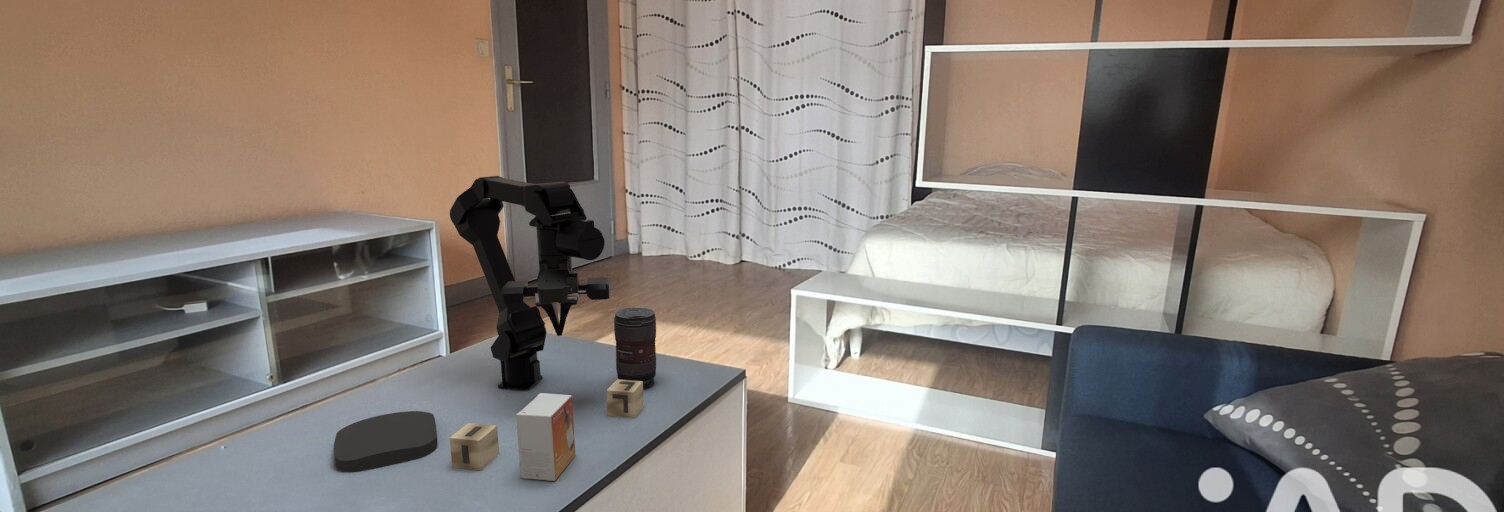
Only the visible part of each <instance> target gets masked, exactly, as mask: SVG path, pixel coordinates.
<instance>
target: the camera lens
mask: <svg viewBox="0 0 1504 512" xmlns="http://www.w3.org/2000/svg"><path fill="white" fill-rule="evenodd" d="M656 318H657V317H656V314H655V311H654V310H653V309H651V308H647V307H629V308H628V307H627V308H622V309H619V310H617V311H616V312H615V314H614V318H613V322H614V323H613V325H614V327H613V328H614V332H613V333H614V341H615V369H616V374H617V375H616V376H617V377H616V378H617V379H620V380H632V381H643V390H646V389H648V388H650V387H652V386H653V385H654V383H655V377H656V375H657V372H656V370H657V353H656V352H657V351H656V339H657V338H656V337H657V319H656Z"/></svg>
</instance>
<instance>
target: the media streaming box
mask: <svg viewBox="0 0 1504 512" xmlns="http://www.w3.org/2000/svg"><path fill="white" fill-rule="evenodd" d="M436 423H437V422H436V418H435V416H434V414H433V413H432V412H429V411H419V410H409V411H398V412H397V411H396V412H392V413H385V414H380V415H376V416H371V417H368V418H365V419H362V420H358V421H355V422H353V423H351V424H349V425H346V426H345V427H343V428H341V429H340V430H338V431H337V432H336V434H335V438H334V444H333V457H334V465H335V469H336V470H338V471H341V472H343V473H344V472H346V473H354V472H356V473H357V472H362V471H365V470H366V471H367V470H373V469H376V468H382V467H386V466H391V465H396V464H400V463H404V462H405V463H406V462H409V461H413V460H417V459H418V460H419V459H420V458H424V457H427V456H428V455H431V454H432V453H433V452H434V451H435V450H437V448H438V443H439V441H438V434H437V433H438V432H437V424H436Z"/></svg>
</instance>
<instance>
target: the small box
mask: <svg viewBox="0 0 1504 512" xmlns="http://www.w3.org/2000/svg"><path fill="white" fill-rule="evenodd" d="M573 401H574V400H573V395H570V394H559V393H546V392H545V393H544V392H543V393H542V392H541V393H540V392H539V393H538V394H537V396H535V398H533V399H532V400H531V401H530V402H529V403H528V404H527V405H526V406H525V407H524V408H522V409H521V410H520V411H519V412H517V413H516V414H515V419H516V429H517V431H516V432H517V433H516V434H517V445H518V456H519V458H518V459H519V468H520V478H521V479H526V480H539V481H550V482H551V481H552V482H555V481H557V479H558V478H559V476H560V475H561V474H562V472H563V471H564V470H565V469H566V468H567V466H568V465H569V464H570V463H571V462H572V461H573V460H574V459H575V457H576V440H575V438H576V437H575V425H574V424H575V423H574V421H575V420H574V404H573Z"/></svg>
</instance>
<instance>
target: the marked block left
mask: <svg viewBox="0 0 1504 512" xmlns="http://www.w3.org/2000/svg"><path fill="white" fill-rule="evenodd" d="M498 433H499V432H498V425H494V424H493V425H491V424H483V423H482V424H481V423H470V422H468V423H466V424H465V425H464V426H462V428H460V429H458V430H457V431H456V432H455V433H454V434H452V435H451V436H450V437H449V438H448V439H449V448H450V457H451V466H452V468H457V469H467V470H477V471H483V470H484V469H486V467H487V466H488V465H489V464H491V462H493V461H494V460H495V459H496V458H497V457H498V456H499V455H500V446H499V445H500V444H499V443H500V442H499V434H498Z"/></svg>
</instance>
